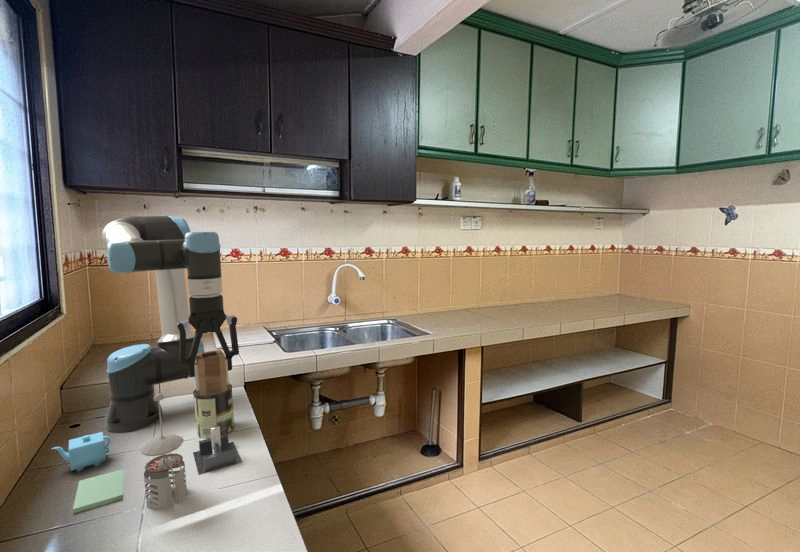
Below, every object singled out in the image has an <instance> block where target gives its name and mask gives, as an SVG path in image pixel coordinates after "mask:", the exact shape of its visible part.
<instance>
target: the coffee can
mask: <svg viewBox="0 0 800 552" xmlns="http://www.w3.org/2000/svg"><path fill="white" fill-rule="evenodd" d="M192 395H193V402H194V415H195V428H196V436H197V437H198V438H200V439H202V440H205V439H209V438H211V430H210V428H211V427H212V426H215V425H219V426H220V436H221V435H225V434H228V435H229V434H230V433H231V432H233V431H234V429H235V416H234V414H235V413H234V400H233V385H232V384H231V383H229V384H228V385H227V391H223V392H218V393H213V394H208V395H203V396H201V395H200V393H199V390H198V391H196V389H195V388H194V390H193V392H192Z"/></svg>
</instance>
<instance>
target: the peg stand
mask: <svg viewBox="0 0 800 552" xmlns="http://www.w3.org/2000/svg"><path fill="white" fill-rule="evenodd" d="M210 430H211V438H209V439H201V440H199V441H198V450H197V451H194V452H192V455H193V457H194V458H193V459H194V462H195V466H196V471H197V474H198V476H200V475H205V474H207V473H210V472H214V471H217V470H221V469H224V468H229V467H231V466H234V465H238V464H241V463H243V460H242V458H241V455H240V453H239V451H238V449H237V447H236V445H235V443H234V441H230V442H229V434H225V435H221V436H220V426H219V425H215V426H212V427H211V428H210Z"/></svg>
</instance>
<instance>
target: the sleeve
mask: <svg viewBox="0 0 800 552" xmlns="http://www.w3.org/2000/svg"><path fill="white" fill-rule="evenodd" d="M225 357H226V356H225V353H224V351H223V350H222V349H217V350H215V349H214V350H210V351H204V352H202V353H197V355H196V362H197V364H198V374H199V389H200V390H199V393H200V395H201V396H203V395H208V394H213V393H218V392H223V391H227V380H226V364H225Z"/></svg>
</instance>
